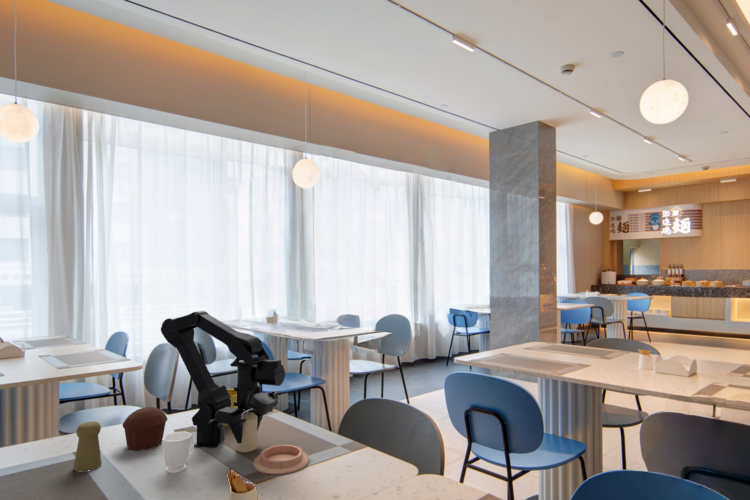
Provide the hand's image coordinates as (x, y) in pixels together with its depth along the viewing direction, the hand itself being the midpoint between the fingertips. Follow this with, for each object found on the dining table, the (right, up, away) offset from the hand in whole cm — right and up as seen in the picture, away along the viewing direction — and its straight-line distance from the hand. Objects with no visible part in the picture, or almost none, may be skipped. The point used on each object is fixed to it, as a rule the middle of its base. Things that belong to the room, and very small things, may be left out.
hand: (246, 439), depth 124 cm
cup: (-14, -2, -11) cm, 18 cm away
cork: (-37, -2, -12) cm, 39 cm away
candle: (0, -3, 0) cm, 3 cm away
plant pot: (-14, -4, +21) cm, 25 cm away
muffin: (-30, -3, +3) cm, 30 cm away
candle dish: (+12, -2, -9) cm, 15 cm away
